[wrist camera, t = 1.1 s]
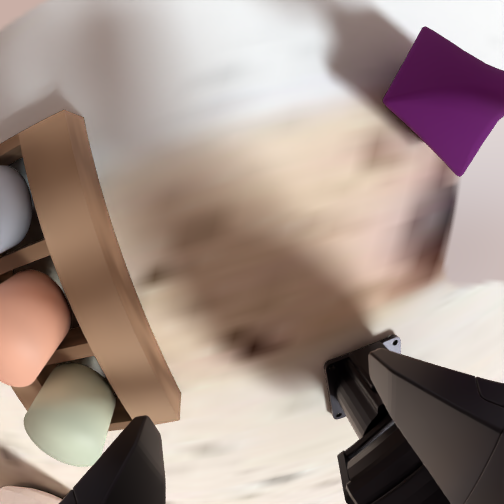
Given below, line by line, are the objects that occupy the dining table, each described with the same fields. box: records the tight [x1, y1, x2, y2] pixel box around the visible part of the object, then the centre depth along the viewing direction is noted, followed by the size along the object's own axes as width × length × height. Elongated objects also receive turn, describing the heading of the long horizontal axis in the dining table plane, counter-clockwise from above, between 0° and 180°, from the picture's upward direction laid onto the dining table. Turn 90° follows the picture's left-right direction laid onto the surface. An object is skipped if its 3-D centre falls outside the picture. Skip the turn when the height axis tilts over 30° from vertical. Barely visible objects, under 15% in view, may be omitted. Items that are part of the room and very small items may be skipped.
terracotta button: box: [0, 269, 71, 387], centre depth 14 cm, size 5×5×5 cm
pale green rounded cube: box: [24, 363, 116, 467], centre depth 15 cm, size 5×5×5 cm
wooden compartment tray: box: [0, 110, 181, 431], centre depth 17 cm, size 20×12×3 cm, turn 14°
